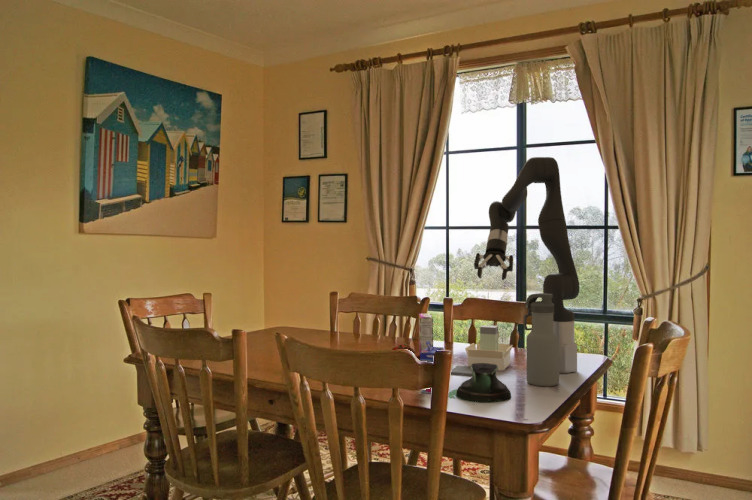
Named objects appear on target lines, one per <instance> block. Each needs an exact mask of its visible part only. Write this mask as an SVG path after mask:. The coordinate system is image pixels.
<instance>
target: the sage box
mask: <svg viewBox="0 0 752 500" xmlns="http://www.w3.org/2000/svg"><path fill="white" fill-rule="evenodd" d="M479 341H480V342H479V343H480V350H494V351H498V344H499V325H489V324H487V325H485V324H483V325H480V327H479Z"/></svg>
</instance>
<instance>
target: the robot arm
mask: <svg viewBox="0 0 752 500" xmlns="http://www.w3.org/2000/svg"><path fill="white" fill-rule="evenodd" d="M531 184H544V186H545V200H544V203H543V205H542V207H541V210H540V212H539V214H538V219H537V222H538V223H537V224H538V230H539V231H538V232H539V236H540V239H541V242H542V244H543V245H544V246H545V247H546V249H547V250H548V251H549V253H550V254H551V256H552V258H554V261H555V263H556V266H557V271H558V273H557V272H556V273H549V274H547V275H546V276H545V277H544V281H543V282H542V283H543V284H542V285H543V286H542V293H546V294H553V298H551V300H552V303H553V304H554V314H553V332H554V333H555V334H556V335H557V336H558V338H559V374H569V373H575V372H578V343H576V342H575V313H574V311H572V310H570V309H567V308H566V307H565V306H564V301H567V300H568V301H569V300H570V301H572V300H575V299H576V298H577V297H578V296H579V293H580V290H581V289H580V280H579V276H578V272H577V270H576V265H575V263H574V258H573V254H572V250H571V245H570V240H569V233H568V227H567V220H566V216H565V211H564V205H563V199H562V190H561V188H562V187H561V177H560V168H559V164H558V161H557V160H556V159H555V158H554V157H551V156H545V157H544V156H537V157H536V156H534V157H530V158H529V159H527V161H525V163H524V165H523V166H522V168H521V170H520V171H519V174H518V176H516V180H515V181H514V184H513V185H512V186H511V187H510V189H509V190H508V191H507V192H506V194H504V196H503V197H502V199H501V201H499V200H496V201H495V200H494V201H493V202H491V204H490V205H489V207H488V208H489V209H488V217H489V222H490V227H489V234H488V237H487V240H486V242H487V243H486V247H485V253H484V254H481V253H480V252H477V253H476V255H475V259H474V262H473V267H474V270H477V272H476V274H477V277H478V279H482V275H483V270H484V269H486V268H488V266H489V267H495V268H496V267H498V268H499V267H500V268H501V270H502V273H501V280H502V281H505V280H506V279H507V277H508V275H507V274H508V272H510V273H512V272H513V269H514V255H513V254H510V255H509V256H506V252H507V248H508V247H507V246H508V237H509V236H508V235H509V230H510V229H509V228H510V226H509V223H511V222H513V221H514V219H515V217H516V215H517V214H516V213H517V210H518V209H519V208H520V206H522V204H523V203H524V202H525V201H526V200H527V197H528V187H529V186H530V185H531ZM481 261H482V262H481ZM506 261H507V262H508V266H507V265H506V263H505V262H506Z"/></svg>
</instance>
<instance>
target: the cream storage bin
mask: <svg viewBox="0 0 752 500" xmlns="http://www.w3.org/2000/svg"><path fill="white" fill-rule="evenodd" d="M512 348H513V344H509V343H498V351H494V350H480V342H476V345H475V343H474V342H473V343H471V344H470V345H468V346H466V347H465V351H466V354H467V366H471V365H473V364H475V363H489V364H496V365H497V366H498V369H497V370H496V371H505V370H506V369H507V367H508V366H509V365H511V351H512Z"/></svg>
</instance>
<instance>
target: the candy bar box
mask: <svg viewBox="0 0 752 500" xmlns="http://www.w3.org/2000/svg"><path fill="white" fill-rule="evenodd" d="M433 320H434V319H433V315H432V313H418V337H419V338H418V340H419V345H418V346H419V354H420V353H421V352H422V351H423V350H425V349H426V348H427V345H426V342H428V341H429V342H430V343H431V345H432V347H434V328H433V327H434V323H433V322H434V321H433ZM428 346H430V344H428Z"/></svg>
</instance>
